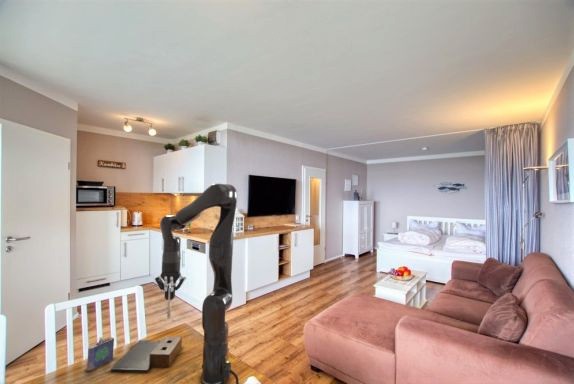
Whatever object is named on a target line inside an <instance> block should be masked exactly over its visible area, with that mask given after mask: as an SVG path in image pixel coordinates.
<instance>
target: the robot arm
mask: <svg viewBox="0 0 574 384" xmlns="http://www.w3.org/2000/svg"><path fill="white" fill-rule="evenodd" d="M237 203H238V191H237V189H236V187H235V186H234V185H232V184H228V183H217V182H216V183H212V184H211V185H209V186H208V187H207V188H206V189H205V190H204V191H203V192H201V194H200V195H198V196H197V197H196V198H195V199H194V200H193V201H192V202H190V203H189V204H187V205H186V206H184V207H181V209H179V210H178V211H177V212H176V213H175V214H174V215H165V216H163V217H162V218H161V219H160V221H159V228H160V232H161V236H162V240H163V244H162V246H163V247H162V248H163V250H162V255H161V256H162V257H161V273H160V275H158V276H157V277H155V278H154V281H155V282H156V284H157V286H158V287H159V289H160V290H161V291H164V299H165V300H166V301H168V289H169V288H171V292H170V300H171V301H173V300H174V298H175V297H176V291H178V290H179V289H180V288H181V286H182V285H184V282H185V281H186V279H187V278H186V276H182V273H181V260H182V258H181V256H182V255H181V246H182V245H181V242H182V241H181V237H180V236H177V235H174V234H173V232H178V231H182V230H184V229H186V228H187V227H188V226H189V224H190V223H192V222H194V221H196V220H197V219H199V218H200V217H201V216H202V214H203V212H204V211H205V210H209V209H212V208H219V209H220V210H219V218H218V221H217V224H216V225H215V227H214V229H213V232H212V233H211V235H210V237H209V240H208V241H209V243H208V260H209V264H210V267H211V269H212V273H213V286H212V292H210V293H209V294H208V295H207V296H206V297H205V298H204V299H203V302H202V305H201V326H202V330H203V343H202V344H203V345H202V364H201V370H202V371H201V382H202V384H225V383H226V381H227V379H229V378H230V375H232V376H233V377H234V379H235V384H240V382H239V376H238V375H237V374H236V372H235V371H234V370H232V362H229V356H230V355H229V354H230V349H229V329H230V328H229V323H228V322H227V321H226V312H227V311H229V309H230V308H231V306H232V304H233V286H232V285H233V284H232V283H233V282H232V272H233V254H234V230H235V218H236V210H237ZM177 281H179V282H178V283H177Z"/></svg>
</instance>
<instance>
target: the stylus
mask: <svg viewBox="0 0 574 384" xmlns="http://www.w3.org/2000/svg"><path fill="white" fill-rule="evenodd" d="M170 292H171V287H170V288H169V289H168V300H167V310H166V311H167V312H166V313H167V314H166V318H167V319H170V318H171V316H172V314H171V313H172V300H170Z"/></svg>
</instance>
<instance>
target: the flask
mask: <svg viewBox="0 0 574 384" xmlns="http://www.w3.org/2000/svg"><path fill="white" fill-rule="evenodd" d="M114 345H115V338H114V337H107V338H104V337H102V336H101V337H99V338H98V341H97V342H96V343H94V344H92V345H90V346H88V348H87V361H86V362H87V364H86V372H92V371H94V370H96V369H98V368H100V367H102V366H103V365H106V364H107V363H109V362H112V361H113V360H114Z"/></svg>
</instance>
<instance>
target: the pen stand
mask: <svg viewBox="0 0 574 384" xmlns="http://www.w3.org/2000/svg"><path fill="white" fill-rule="evenodd" d="M159 341H160V343H159V344H158V345H157V346H156V347H155V349H154V350H153V351H152V352H151V353H150V359H149V364H152V367H154V368H157V367H158V368H161V367H162V368H170V366H171V364H172V363H173V362H174V360H175V358H176V357H177V355H178V354H179V352H180V351H181V350H182V345H183V344H182V342H183V337H182V336H163V338H161V340H159ZM152 367H151V368H152Z"/></svg>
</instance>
